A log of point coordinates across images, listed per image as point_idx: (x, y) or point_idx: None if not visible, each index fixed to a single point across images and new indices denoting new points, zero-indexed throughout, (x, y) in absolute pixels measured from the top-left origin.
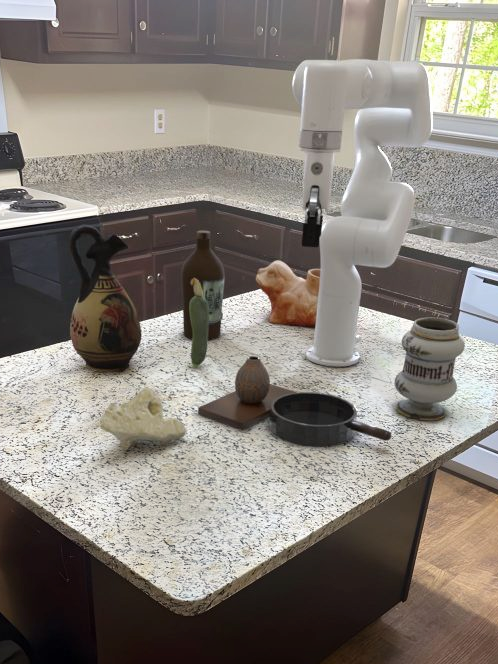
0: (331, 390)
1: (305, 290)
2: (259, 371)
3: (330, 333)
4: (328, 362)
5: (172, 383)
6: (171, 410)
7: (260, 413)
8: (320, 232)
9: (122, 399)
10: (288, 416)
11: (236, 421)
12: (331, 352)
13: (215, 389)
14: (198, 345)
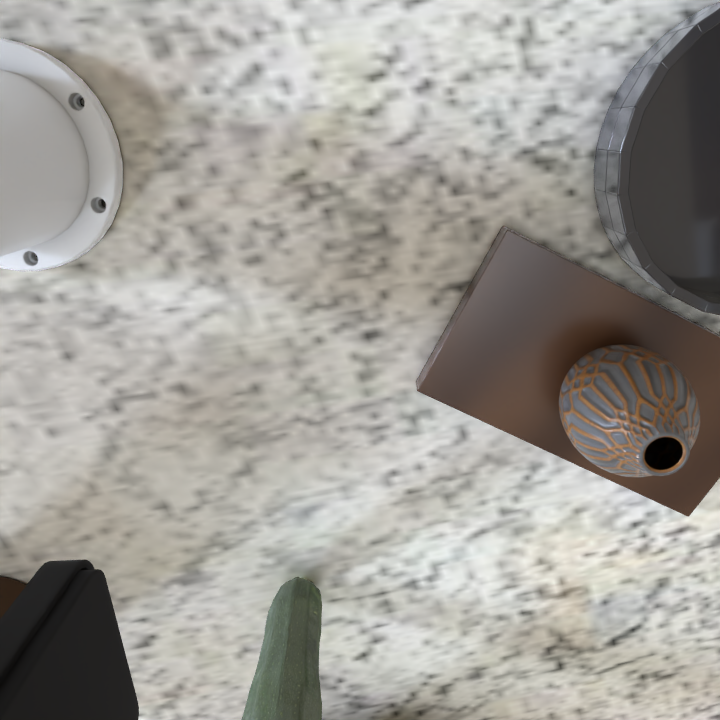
0: (373, 125)
1: None
2: (689, 408)
3: (31, 184)
4: (116, 168)
5: (456, 610)
6: (657, 571)
7: (713, 339)
8: (71, 602)
9: (601, 688)
10: (670, 248)
11: None
12: (73, 164)
13: (471, 497)
14: (320, 630)
